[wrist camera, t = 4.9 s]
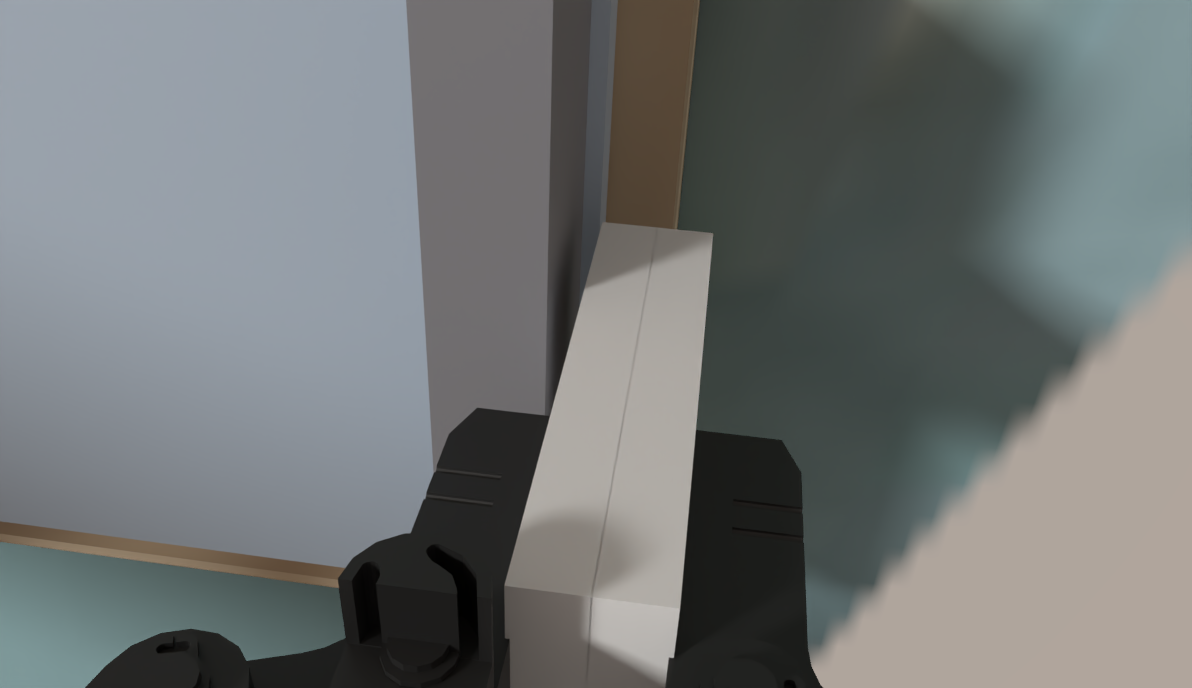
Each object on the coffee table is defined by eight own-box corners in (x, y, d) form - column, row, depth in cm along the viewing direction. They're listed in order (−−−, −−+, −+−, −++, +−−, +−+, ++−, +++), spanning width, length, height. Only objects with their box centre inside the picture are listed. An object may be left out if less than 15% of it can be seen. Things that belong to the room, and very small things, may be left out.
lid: (-96, 477, 22) (-240, 622, 19) (-452, -339, 14) (-810, -323, 11) (586, 568, 20) (553, 739, 17) (632, -271, 12) (585, -230, 9)
